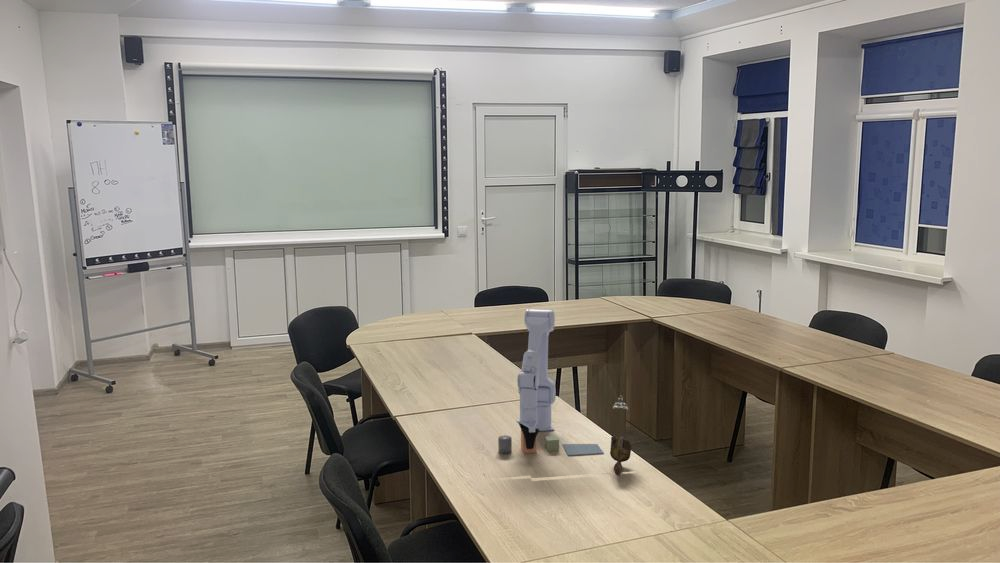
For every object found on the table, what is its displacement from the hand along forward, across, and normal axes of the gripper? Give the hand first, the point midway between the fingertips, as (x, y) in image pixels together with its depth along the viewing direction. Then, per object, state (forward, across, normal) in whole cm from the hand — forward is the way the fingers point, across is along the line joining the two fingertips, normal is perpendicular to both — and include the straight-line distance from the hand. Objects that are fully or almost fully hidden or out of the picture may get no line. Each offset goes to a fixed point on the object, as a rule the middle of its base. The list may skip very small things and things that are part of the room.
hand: (528, 445), depth 246 cm
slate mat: (+2, 0, +18) cm, 18 cm away
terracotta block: (+2, 0, 0) cm, 2 cm away
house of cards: (+2, -34, +43) cm, 55 cm away
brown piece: (+2, +21, +26) cm, 33 cm away
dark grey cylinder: (+2, 0, -8) cm, 8 cm away
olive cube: (+2, 0, +8) cm, 8 cm away
